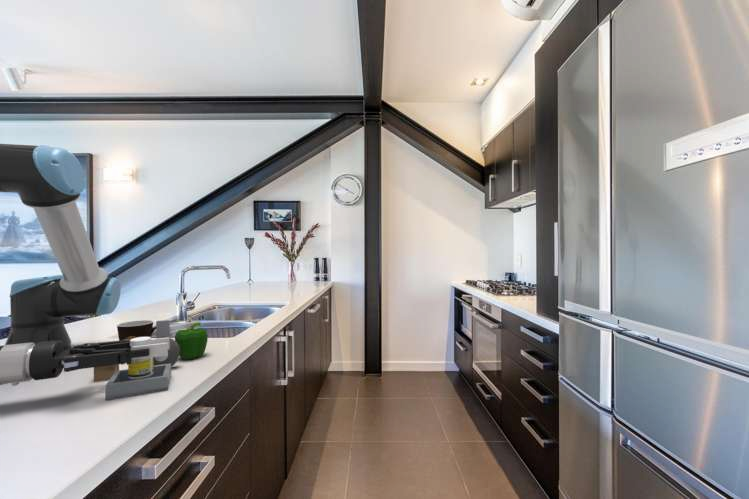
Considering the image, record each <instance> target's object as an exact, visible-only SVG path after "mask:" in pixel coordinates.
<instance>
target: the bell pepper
mask: <svg viewBox="0 0 749 499" xmlns="http://www.w3.org/2000/svg"><path fill="white" fill-rule="evenodd" d="M201 324H202V321H201V322H200V321H196V322H195V321H194V322H193V323H192V324H190V327H189V328H186V329H179V330H178V331H176V333H175V335H174V340H175V341H176V342H177V343H178V345H179V348H180V353H179V358H180V359H181V360H192V359H195V358H199V357H202V356H203V355H204V353H205V352H206V349H207V345H208V338H209V337H208V332H207V330H206V328H205V327H198V328H197V327H196V326H201ZM195 327H196V328H195Z"/></svg>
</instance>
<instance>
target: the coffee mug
mask: <svg viewBox="0 0 749 499" xmlns="http://www.w3.org/2000/svg"><path fill="white" fill-rule="evenodd" d="M153 326H154V320H148V319H147V320H142V319H141V320H132V321H126V322H122V323H118V324H117V325H116V328H117V335H118V341H121V340H131V339H133V338H134V337H137V338H138V337H151V338H152V336H153V335H152V334H154V332H155V331H156V326H155V327H153ZM126 363H127V361H126Z"/></svg>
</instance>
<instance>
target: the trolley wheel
mask: <svg viewBox="0 0 749 499" xmlns="http://www.w3.org/2000/svg"><path fill="white" fill-rule="evenodd" d="M170 320H171V319H164V320H163V319H162V320H156V323H155V327H156V329H155V332H156V333H155V334H156V335H155V339H158V338H168V337H169V344H170V349H168V355H167V356H159V357H153V364H154V366H155V365H163V364H170V363H171V368H172V367H174V365H175V364H176V363H178V359H179V358H180V356H179V353H180V348H179V345H178V343H177V342H176V341H175V339H173V338H171V337H170V336H171V334H170V333H171V332H170V331H171V329H170V326H171V325H170V324H171V322H170Z"/></svg>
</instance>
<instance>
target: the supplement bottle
mask: <svg viewBox="0 0 749 499" xmlns="http://www.w3.org/2000/svg"><path fill="white" fill-rule="evenodd" d="M151 339H152V336H151V337H138V338H133V339H131V340H130V347H131V350H132V347H133V346H141V345H150V344H151ZM127 366H128V367H127V369H128V377H129V378H130V379H142V378H146V377H149V376H151V375H152V374H153V373H154V364H153V357H151V358H143V359H135V360H132V358H131V364H128V365H127Z"/></svg>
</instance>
